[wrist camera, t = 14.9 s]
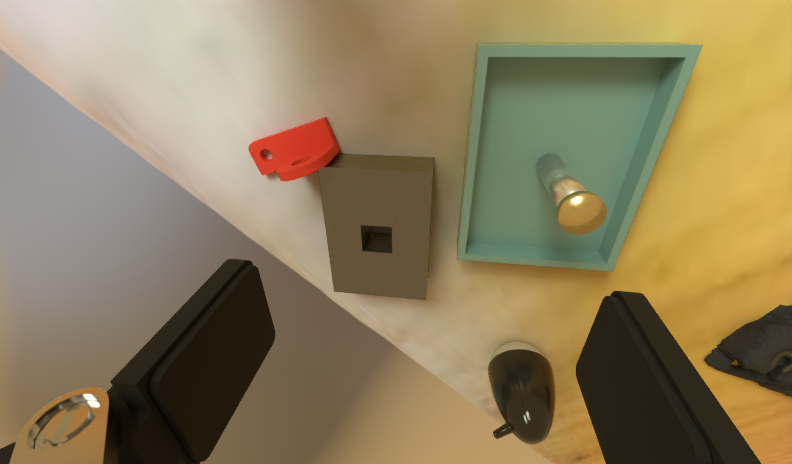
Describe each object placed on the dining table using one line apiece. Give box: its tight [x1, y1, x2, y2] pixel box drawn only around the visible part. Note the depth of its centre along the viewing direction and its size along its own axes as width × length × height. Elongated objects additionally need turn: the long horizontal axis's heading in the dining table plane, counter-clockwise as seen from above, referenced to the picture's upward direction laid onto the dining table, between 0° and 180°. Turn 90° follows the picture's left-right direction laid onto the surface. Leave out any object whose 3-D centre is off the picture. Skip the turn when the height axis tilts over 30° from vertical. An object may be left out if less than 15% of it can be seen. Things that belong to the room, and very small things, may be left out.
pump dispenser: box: [488, 342, 555, 444], centre depth 54 cm, size 10×10×15 cm
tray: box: [457, 43, 703, 271], centre depth 41 cm, size 26×20×4 cm
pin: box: [536, 153, 607, 235], centre depth 36 cm, size 4×4×13 cm
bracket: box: [249, 117, 340, 181], centre depth 43 cm, size 12×4×8 cm, turn 108°
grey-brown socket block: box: [318, 154, 434, 300], centre depth 49 cm, size 20×14×5 cm
